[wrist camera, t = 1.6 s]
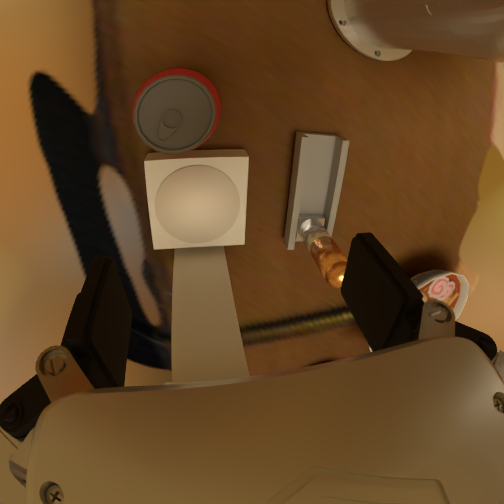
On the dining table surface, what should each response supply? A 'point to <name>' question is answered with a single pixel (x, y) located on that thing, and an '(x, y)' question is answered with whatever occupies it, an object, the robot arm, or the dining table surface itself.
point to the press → (224, 239)
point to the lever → (322, 248)
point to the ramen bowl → (443, 288)
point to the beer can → (176, 110)
